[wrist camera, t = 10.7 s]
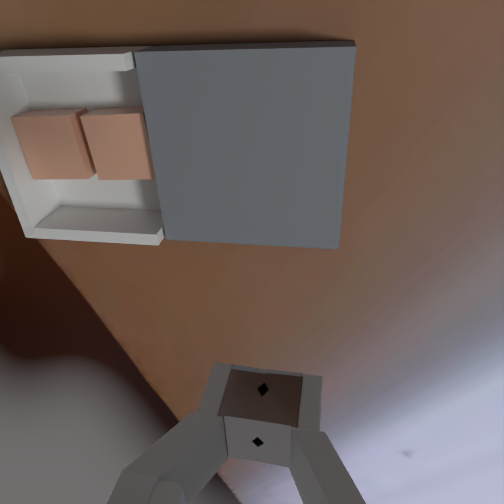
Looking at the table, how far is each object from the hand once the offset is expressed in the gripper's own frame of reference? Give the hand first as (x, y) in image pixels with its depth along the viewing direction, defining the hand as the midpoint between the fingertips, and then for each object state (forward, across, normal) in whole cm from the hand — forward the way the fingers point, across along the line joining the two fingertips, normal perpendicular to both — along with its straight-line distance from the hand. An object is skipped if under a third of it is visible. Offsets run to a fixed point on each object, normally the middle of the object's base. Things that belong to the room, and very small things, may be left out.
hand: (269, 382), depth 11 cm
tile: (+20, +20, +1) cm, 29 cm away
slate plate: (+24, +5, +1) cm, 24 cm away
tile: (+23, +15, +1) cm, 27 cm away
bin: (+23, +18, +2) cm, 30 cm away
